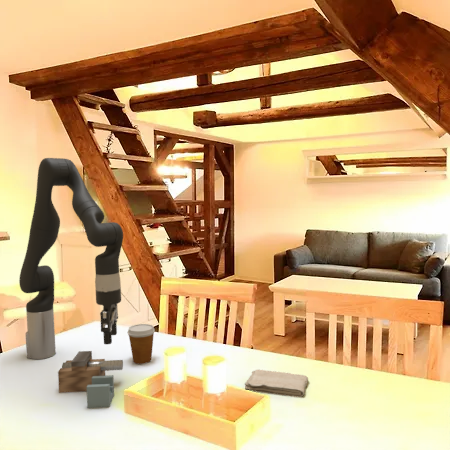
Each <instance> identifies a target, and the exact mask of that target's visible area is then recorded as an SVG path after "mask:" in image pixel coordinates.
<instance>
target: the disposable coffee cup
mask: <svg viewBox="0 0 450 450" xmlns="http://www.w3.org/2000/svg"><path fill="white" fill-rule="evenodd" d="M155 331H156V330H155V328H154V325H153V324H149V323H138V324H134V325H131V326H129V327H128V329H127V334H128V335H127V336H128V338H129V343H130V350H131V356H132V362H133V363H134V364H138V365H143V364H144V365H145V364H148V363H150V362H151V361H152V358H153V357H152V355H153V344H154V335H155V334H154V333H155Z"/></svg>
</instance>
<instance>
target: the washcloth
mask: <svg viewBox="0 0 450 450" xmlns="http://www.w3.org/2000/svg"><path fill="white" fill-rule="evenodd" d="M308 382H309V377H308V376H307V375H304V374H298V373H290V372H286V371H285V372H284V371H283V372H282V371H275V370H274V371H271V370H265V369H255V370H253V371H252V372H251V375H250V376H249V377H248V379H247V380H246V382H245V383H244V386H245V387H244V388H246V390H248V389H249V391H251V390H253V391H252V392H256V391H257V392H258V393H264V394H273V395H280V396H288V397H289V396H290V397H294V398H295V397H297V398H302V397H303V396H304V395H305V393H306V388H307V385H308ZM257 392H256V393H257Z"/></svg>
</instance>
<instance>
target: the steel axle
mask: <svg viewBox="0 0 450 450" xmlns="http://www.w3.org/2000/svg"><path fill="white" fill-rule="evenodd" d="M98 366H101V371H105V372H107V371H122V370H123V369H124V361H123V359H114V360H113V359H111V360H109V359H108V360H105V361H88V362H87V367H98ZM61 368H71V362H66V361H65V362H62V364H61Z"/></svg>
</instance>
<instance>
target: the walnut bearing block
mask: <svg viewBox="0 0 450 450" xmlns="http://www.w3.org/2000/svg"><path fill="white" fill-rule="evenodd" d="M88 361H106V360H105V358H95V359H93V352H92V350H83V351H81V350H80V351H78V352H77V353H76V354H75V356H74V358H73V359H72V360H66V361H65V362H71V368H62V367H60V369H59V370H58V371H57V374H58V375H57V377H58V393H61V394H62V393H77V392H78V393H79V392H80V393H81V392H87V385H92V377H93V376H106V371H101V366H98V367H87V362H88Z"/></svg>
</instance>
